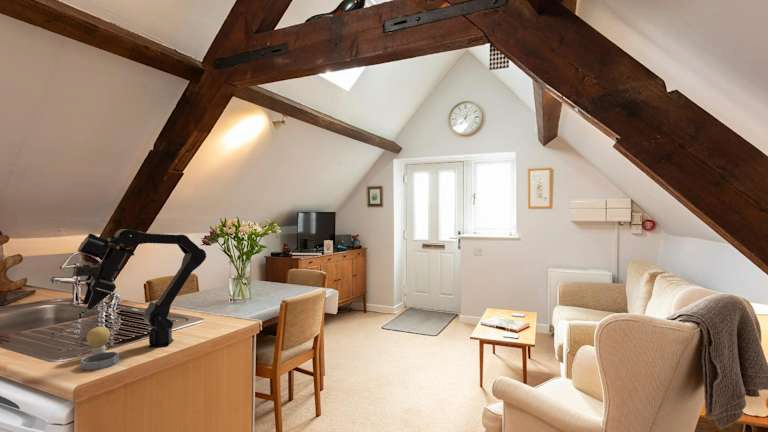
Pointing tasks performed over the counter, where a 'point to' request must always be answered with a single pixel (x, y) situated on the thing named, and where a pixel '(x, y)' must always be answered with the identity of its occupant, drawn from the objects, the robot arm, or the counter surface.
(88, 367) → the saucer
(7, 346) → the counter surface
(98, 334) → the light bulb
